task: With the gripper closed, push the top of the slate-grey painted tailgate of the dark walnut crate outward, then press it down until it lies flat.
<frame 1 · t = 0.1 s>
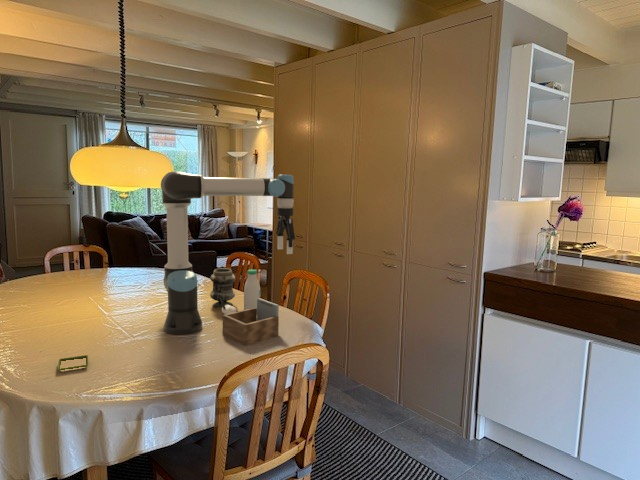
hand: (284, 251, 211), 28 cm above the table, fingers open, 13 cm apart
crate: (250, 334, 178), on the table
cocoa: (228, 320, 196), on the table
apothecary jar: (222, 306, 216), on the table
tailgate: (267, 313, 182), point 7 cm above the table, hinge at 0.0°
milk bottle: (252, 311, 208), on the table
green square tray: (73, 368, 145), on the table
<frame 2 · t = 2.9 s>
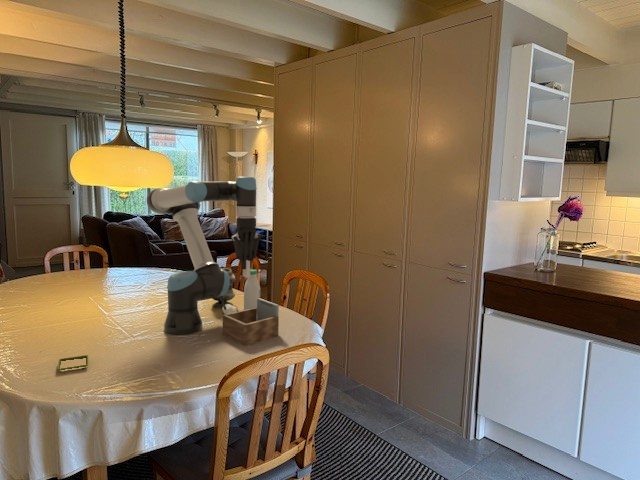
hand: (246, 276, 173), 24 cm above the table, fingers closed
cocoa: (228, 319, 196), on the table, touching arm
everything else where it was.
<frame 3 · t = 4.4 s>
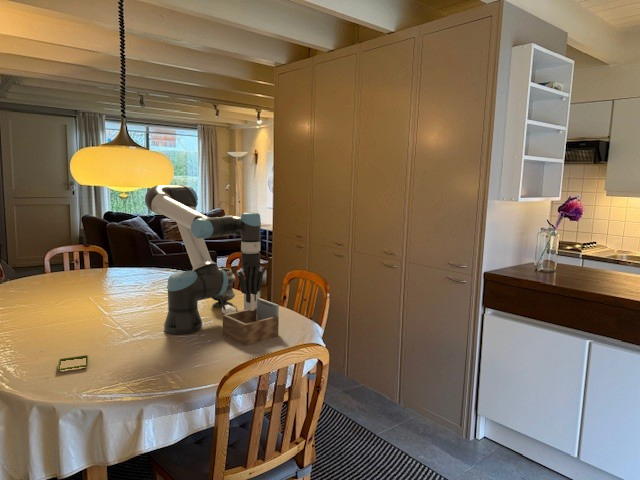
hand: (250, 309, 176), 10 cm above the table, fingers closed
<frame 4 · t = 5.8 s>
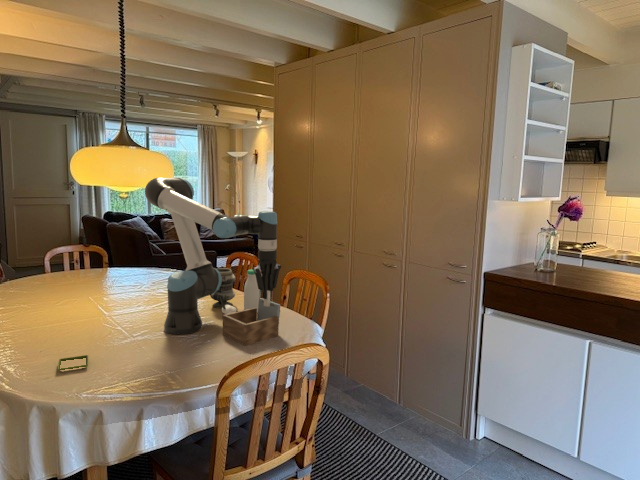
hand: (267, 305, 181), 11 cm above the table, fingers closed
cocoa: (228, 320, 196), on the table
tailgate: (268, 313, 183), point 7 cm above the table, hinge at 5.9°, touching gripper
everything else where it was.
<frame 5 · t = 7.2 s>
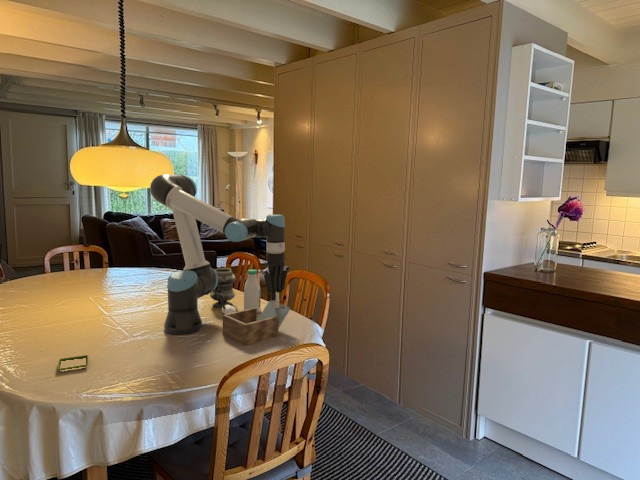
hand: (275, 307, 185), 9 cm above the table, fingers closed
tailgate: (273, 314, 185), point 6 cm above the table, hinge at 40.7°, touching gripper
everything else where it was.
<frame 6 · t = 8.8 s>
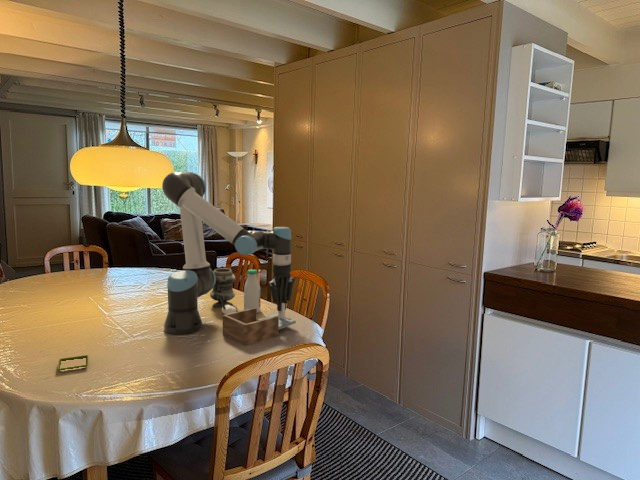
hand: (281, 317, 188), 4 cm above the table, fingers closed
tailgate: (276, 321, 187), point 3 cm above the table, hinge at 85.0°, touching gripper
everything else where it was.
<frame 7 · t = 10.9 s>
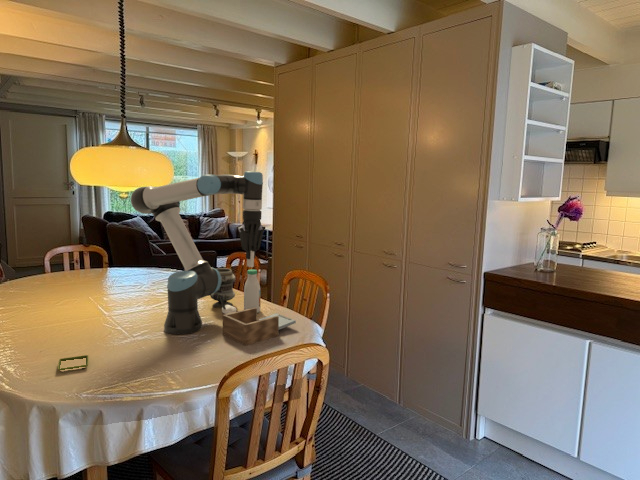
hand: (250, 266, 182), 26 cm above the table, fingers closed
tailgate: (276, 321, 187), point 3 cm above the table, hinge at 85.0°
everything else where it was.
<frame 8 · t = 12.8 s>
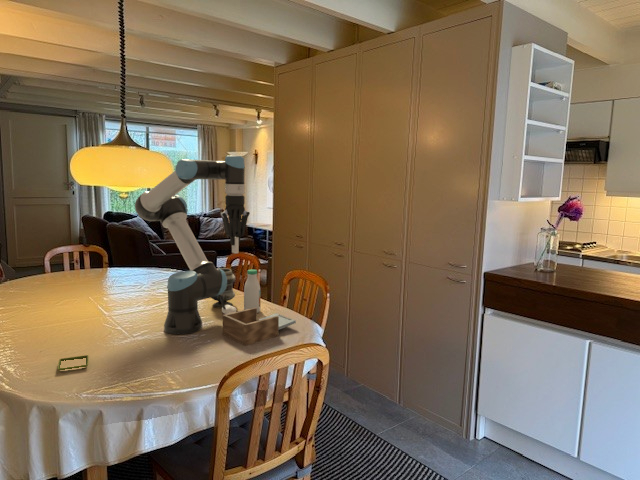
hand: (235, 252, 179), 32 cm above the table, fingers closed
nothing on the table moved.
at the end: tailgate at +85° (first picture: +0°) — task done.
